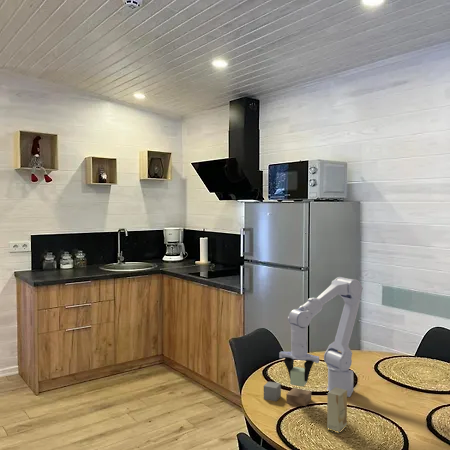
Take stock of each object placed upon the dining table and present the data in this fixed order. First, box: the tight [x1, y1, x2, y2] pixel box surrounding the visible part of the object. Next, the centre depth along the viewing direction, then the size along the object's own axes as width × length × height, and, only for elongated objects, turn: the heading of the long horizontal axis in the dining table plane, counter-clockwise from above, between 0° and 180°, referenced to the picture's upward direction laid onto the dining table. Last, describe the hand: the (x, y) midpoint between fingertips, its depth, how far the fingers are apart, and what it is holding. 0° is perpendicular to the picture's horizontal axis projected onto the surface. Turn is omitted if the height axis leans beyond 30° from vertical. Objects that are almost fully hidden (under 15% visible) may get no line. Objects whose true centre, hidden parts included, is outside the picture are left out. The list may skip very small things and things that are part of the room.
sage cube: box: [289, 366, 308, 388], centre depth 168 cm, size 5×5×5 cm
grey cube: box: [263, 381, 282, 402], centre depth 171 cm, size 5×5×5 cm
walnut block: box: [285, 387, 312, 407], centre depth 168 cm, size 7×7×4 cm
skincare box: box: [326, 387, 348, 432], centre depth 147 cm, size 6×4×12 cm
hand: (298, 379), depth 168 cm, fingers closed on sage cube, 5 cm apart
